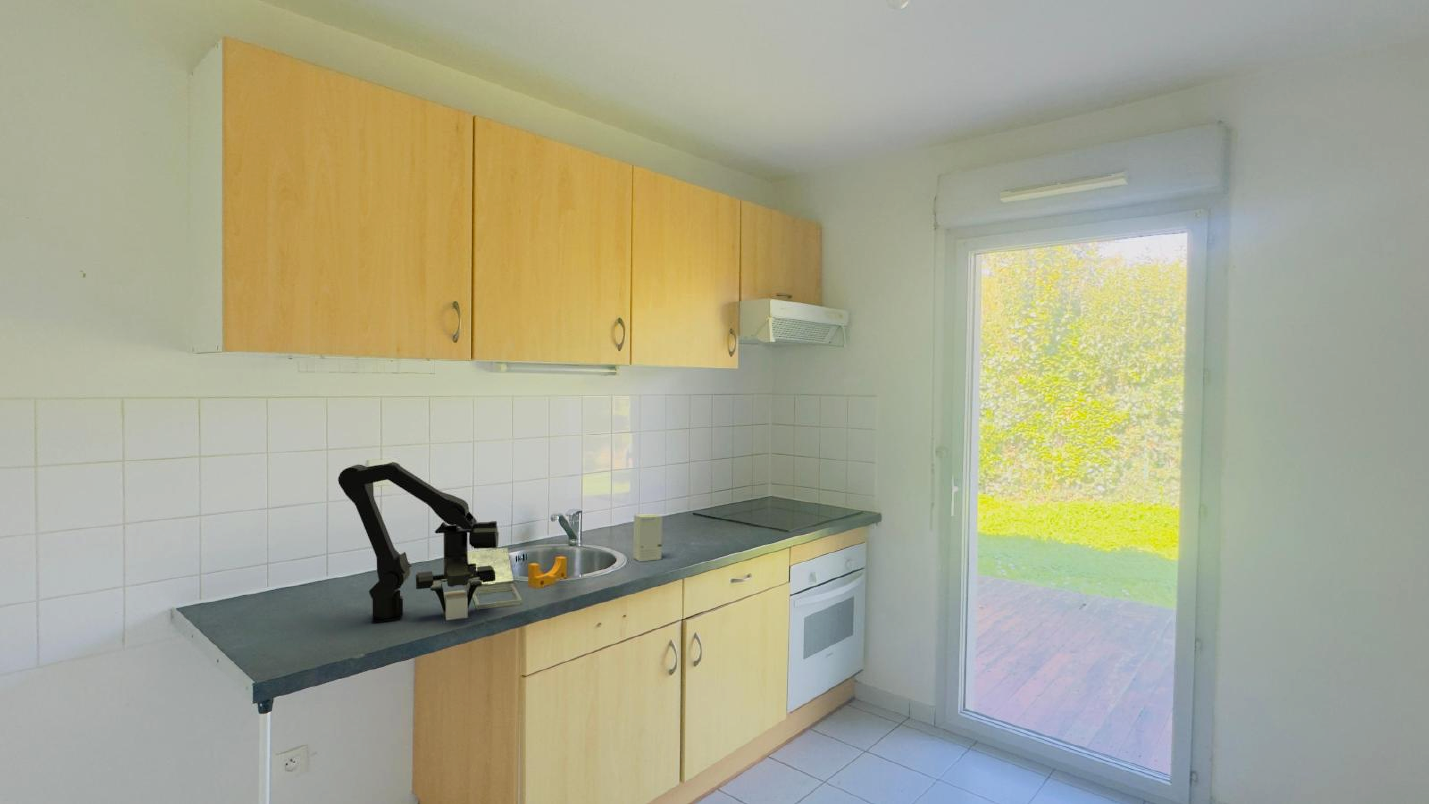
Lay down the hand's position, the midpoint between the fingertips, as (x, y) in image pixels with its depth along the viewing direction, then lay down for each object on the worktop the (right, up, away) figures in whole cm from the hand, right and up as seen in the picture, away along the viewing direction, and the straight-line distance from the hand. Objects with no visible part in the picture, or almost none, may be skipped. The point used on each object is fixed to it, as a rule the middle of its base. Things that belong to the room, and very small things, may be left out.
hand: (455, 610), depth 179 cm
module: (0, -1, 0) cm, 1 cm away
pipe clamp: (+17, -1, +29) cm, 34 cm away
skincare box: (+43, 0, +57) cm, 72 cm away
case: (+4, 0, +19) cm, 19 cm away
